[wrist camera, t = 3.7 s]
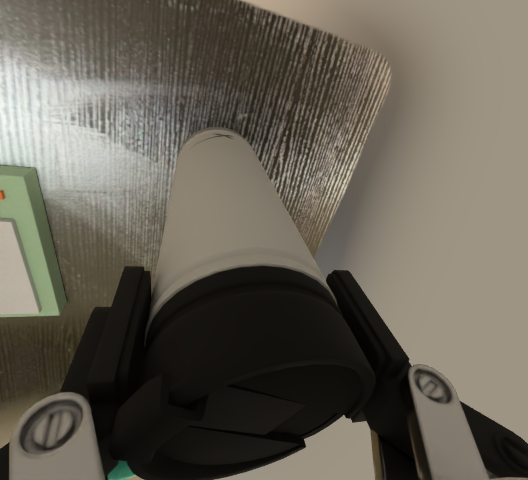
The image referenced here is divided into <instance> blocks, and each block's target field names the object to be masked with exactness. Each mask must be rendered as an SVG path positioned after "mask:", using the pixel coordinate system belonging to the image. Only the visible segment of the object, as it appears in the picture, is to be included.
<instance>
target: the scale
mask: <svg viewBox="0 0 528 480" xmlns="http://www.w3.org/2000/svg"><path fill="white" fill-rule="evenodd" d="M66 303H67V300H66V296H65V291H64V287H63V283H62V279H61V275H60V270H59V266H58V262H57V258H56V254H55V249H54V245H53V241H52V237H51V232H50V228H49V224H48V220H47V216H46V211H45V207H44V203H43V199H42V194H41V190H40V186H39V182H38V178H37V173H36V169H35V168H25V167H14V166H3V165H0V317H21V316H59V315H60V314H61V312H62V310H63V308H64V307H65V305H66Z"/></svg>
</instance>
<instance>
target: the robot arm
mask: <svg viewBox="0 0 528 480" xmlns="http://www.w3.org/2000/svg"><path fill="white" fill-rule="evenodd" d="M326 283H327V285H328V286H329V288H330V290H331V291H332V293H333V295H334V296H335V298H336V301H337V305H338V307H339V309H340V311H341V313H342V316H343V318H344V320H345V321H346V323H347V324H348V326H349V328H350V329H351V331H352V333H353V335H354V337H355V339H356V340H357V342H358V344H359V346H360V348H361V350H362V351H363V353H364V355H365V357H366V359H367V361H368V363H369V364H370V366H371V368H372V370H373V372H374V373H375V381H376V384H375V387H374V390H373V393H372V396H371V397H370V399H369V400H368V402H367V403H366V405H365V406H363V407H362V408H361V409H360V410H359V411H358V412H357V413H356V414H355V415H353V416H352V417H351V420H352V422H361V421H367V423H368V425H369V427H370V429H371V440H372V451H373V461H374V472H375V480H528V444H527V443H526V442H525V441H524V440H523V439H522V438H521V437H519V436H518V435H516V434H515V433H513V432H512V431H510V430H508V429H507V428H505V427H503V426H502V425H500V424H498V423H496V422H495V421H493V420H491V419H490V418H488V417H486V416H484V415H483V414H481V413H480V412H478V411H476V410H474V409H473V408H471V407H469V406H468V405H466V404H464V403H462V402H461V401H459V398H458V396H457V393H456V391H455V389H454V387H453V385H452V384H451V383H450V382H449V380H448V379H447V378H446V377H445V376H444V375H442V374H441V373H440V372H438V371H437V370H435V369H433V368H432V367H429V366H427V365H422V364H417V365H413V366H411V364H410V363H409V358H408V356H407V355H406V353H405V352H404V351H403V349H402V348H401V346H400V345H399V343H398V342H397V340H396V339H395V337H394V336H393V334H392V333H391V331H390V330H389V329H388V327H387V326H386V324H385V323H384V321H383V320H382V318H381V317H380V315H379V314H378V312H377V311H376V309H375V308H374V307H373V305H372V304H371V302H370V301H369V299H368V298H367V296H366V295H365V293H364V292H363V291H362V289H361V287H360V286H359V285H358V283H357V282H356V280H355V279H354V277H353V276H352V274H351V273H350V272H349V271H347V270H346V271H344V270H334V271H333V272H332V273H331V274H329V275H328V276H327V278H326ZM150 304H151V275H150V271H144V267H139V266H125V268H124V270H123V273H122V276H121V279H120V282H119V285H118V288H117V291H116V294H115V297H114V300H113V303H112V306H111V307H95V308H94V309H93V311H92V313H91V316H90V318H89V321H88V323H87V326H86V328H85V331H84V333H83V336H82V338H81V341H80V343H79V346H78V348H77V351H76V353H75V356H74V358H73V361H72V363H71V366H70V368H69V371H68V373H67V376H66V378H65V381H64V383H63V386H62V388H61V391H60V393H58V394H55V395H51V396H49V397H47V398H45V399H43V400H41V401H39V402H37V403H36V404H35V405H33V406H32V407H31V408H30V409H28V410H27V411H26V412H25V413H24V415H23V416H22V417H21V418H20V419H19V420H18V422H17V424H16V425H15V427H14V429H13V431H12V434H11V439H10V442H9V443H8V444H6V445H5V446H4V447H2V448H1V449H0V480H109V479H108V474H109V473H110V472H111V471H112V470H113V469H114V468H115V467H116V466H117V465H118V463H119V460H114V459H113V458H112V457H111V456H110V453H109V446H110V441H111V436H112V431H113V426H114V421H115V417H116V414H117V411H118V409H119V408H120V407H121V406H122V405H123V404H124V403H125V402H126V401H127V400H128V399H129V398H130V397H131V396H132V395H133V394H134V393H135V392H136V391H137V389H138V383H139V377H140V371H141V365H142V363H143V360H144V348H145V346H144V344H145V331H146V326H147V321H148V319H149V309H150Z"/></svg>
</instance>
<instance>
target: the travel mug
mask: <svg viewBox="0 0 528 480" xmlns="http://www.w3.org/2000/svg"><path fill="white" fill-rule="evenodd" d="M144 346H145V348H144V360H143V363H142V365H141V371H140V377H139V383H138V389H137V391H136V392H135V393H134V394H133V395H132V396H131V397H130V398H129V399H128V400H127V401H126V402H125V403H124V404H123V405H122V406H121V407H120V408H119V409H118V411H117V414H116V417H115V421H114V426H113V431H112V436H111V441H110V446H109V453H110V456H111V457H112V458H113V459H114V460H120V461H126V462H127V465H128V466H129V468H130V470H131V471H132V473H133V474H135V475H137V476H138V477H140V478H142V479H144V480H214V479H219V478H224V477H228V476H232V475H236V474H240V473H244V472H247V471H250V470H253V469H256V468H259V467H262V466H265V465H268V464H271V463H273V462H276V461H278V460H281V459H283V458H285V457H287V456H289V455H291V454H293V453H295V452H298V451H299V450H302V449H304V448H305V447H306V445H305V441H304V439H305V438H307V437H310V436H312V435H315V434H316V433H318V432H320V431H321V430H323V429H325V428H326V427H328V426H329V425H331V424H332V423H334V422H335V421H336V420H338V419H339V418H340V417H342V416H343V415H345V417H346V418H351V417H352V416H353V415H355V414H356V413H357V412H358V411H359V410H360V409H361V408H362V407H363V406H365V405H366V403H367V402H368V400H369V399H370V397H371V396H372V393H373V390H374V387H375V384H376V381H375V373H374V372H373V370H372V368H371V366H370V364H369V363H368V361H367V359H366V357H365V355H364V353H363V351H362V350H361V348H360V346H359V344H358V342H357V340H356V339H355V337H354V335H353V333H352V331H351V329H350V328H349V326H348V324H347V323H346V321H345V320H344V318H343V316H342V313H341V311H340V309H339V307H338V305H337V301H336V298H335V296H334V295H333V293H332V291H331V290H330V288H329V286H328V285H327V283H326V280H325V278H324V277H323V275H322V273H321V271H320V269H319V268H318V266H317V264H316V262H315V260H314V259H313V257H312V255H311V253H310V251H309V250H308V248H307V246H306V244H305V242H304V240H303V239H302V237H301V235H300V233H299V231H298V230H297V228H296V226H295V224H294V222H293V221H292V219H291V217H290V215H289V213H288V212H287V210H286V208H285V206H284V204H283V203H282V201H281V199H280V197H279V195H278V194H277V192H276V190H275V188H274V186H273V185H272V183H271V181H270V179H269V177H268V175H267V174H266V172H265V170H264V168H263V166H262V165H261V163H260V161H259V159H258V157H257V156H256V154H255V152H254V150H253V149H252V147H251V145H250V144H249V142H248V141H247V140H246V139H245V138H244V137H243V136H242V135H240V134H239V133H237V132H235V131H233V130H231V129H228V128H224V127H208V128H204V129H201V130H199V131H197V132H195V133H194V134H192V135H191V136H190V137H189V138H188V139H187V140H186V141H185V142H184V143H183V145H182V147H181V148H180V151H179V154H178V158H177V163H176V169H175V174H174V179H173V185H172V190H171V196H170V201H169V206H168V212H167V217H166V223H165V228H164V234H163V239H162V244H161V250H160V255H159V261H158V266H157V271H156V277H155V282H154V288H153V293H152V298H151V304H150V309H149V319H148V321H147V326H146V331H145V344H144Z"/></svg>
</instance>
